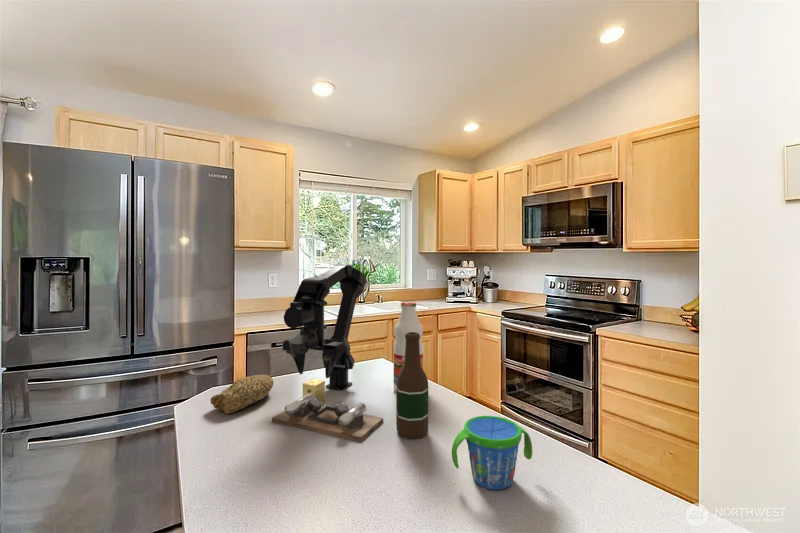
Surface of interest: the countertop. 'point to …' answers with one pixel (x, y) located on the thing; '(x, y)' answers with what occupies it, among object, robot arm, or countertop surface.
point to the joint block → (315, 389)
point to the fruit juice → (404, 325)
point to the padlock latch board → (330, 422)
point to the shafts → (315, 406)
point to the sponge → (242, 393)
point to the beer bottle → (412, 393)
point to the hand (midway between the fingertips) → (314, 375)
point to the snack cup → (492, 449)
